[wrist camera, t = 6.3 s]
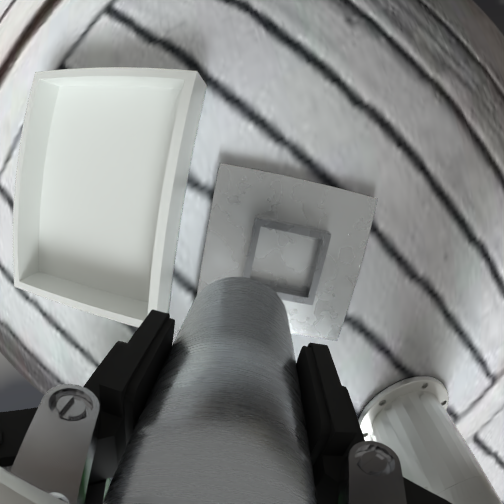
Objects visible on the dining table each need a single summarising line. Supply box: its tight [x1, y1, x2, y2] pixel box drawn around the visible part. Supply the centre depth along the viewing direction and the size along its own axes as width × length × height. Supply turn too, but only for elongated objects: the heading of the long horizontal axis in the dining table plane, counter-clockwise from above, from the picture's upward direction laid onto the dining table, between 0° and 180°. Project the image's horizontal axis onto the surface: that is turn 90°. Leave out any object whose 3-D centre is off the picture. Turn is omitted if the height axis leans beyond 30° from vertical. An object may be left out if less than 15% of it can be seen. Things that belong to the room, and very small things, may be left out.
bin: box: [13, 67, 207, 327], centre depth 26 cm, size 22×17×4 cm
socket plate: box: [197, 163, 378, 341], centre depth 28 cm, size 14×14×2 cm
